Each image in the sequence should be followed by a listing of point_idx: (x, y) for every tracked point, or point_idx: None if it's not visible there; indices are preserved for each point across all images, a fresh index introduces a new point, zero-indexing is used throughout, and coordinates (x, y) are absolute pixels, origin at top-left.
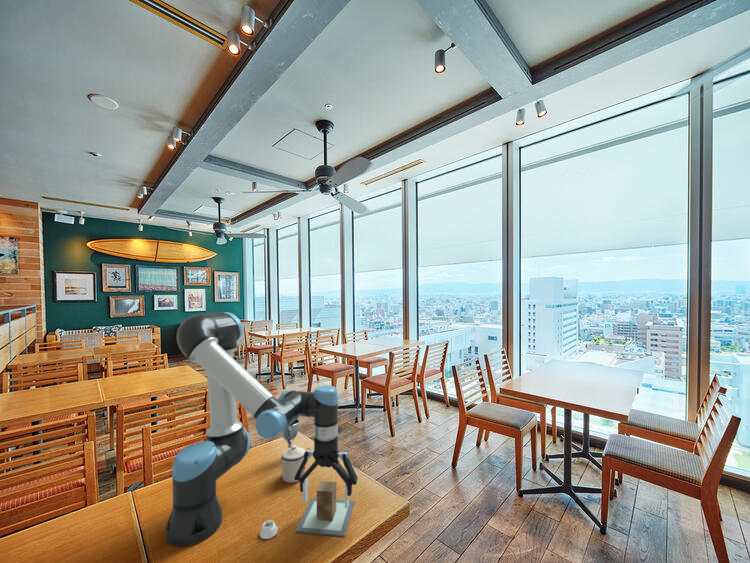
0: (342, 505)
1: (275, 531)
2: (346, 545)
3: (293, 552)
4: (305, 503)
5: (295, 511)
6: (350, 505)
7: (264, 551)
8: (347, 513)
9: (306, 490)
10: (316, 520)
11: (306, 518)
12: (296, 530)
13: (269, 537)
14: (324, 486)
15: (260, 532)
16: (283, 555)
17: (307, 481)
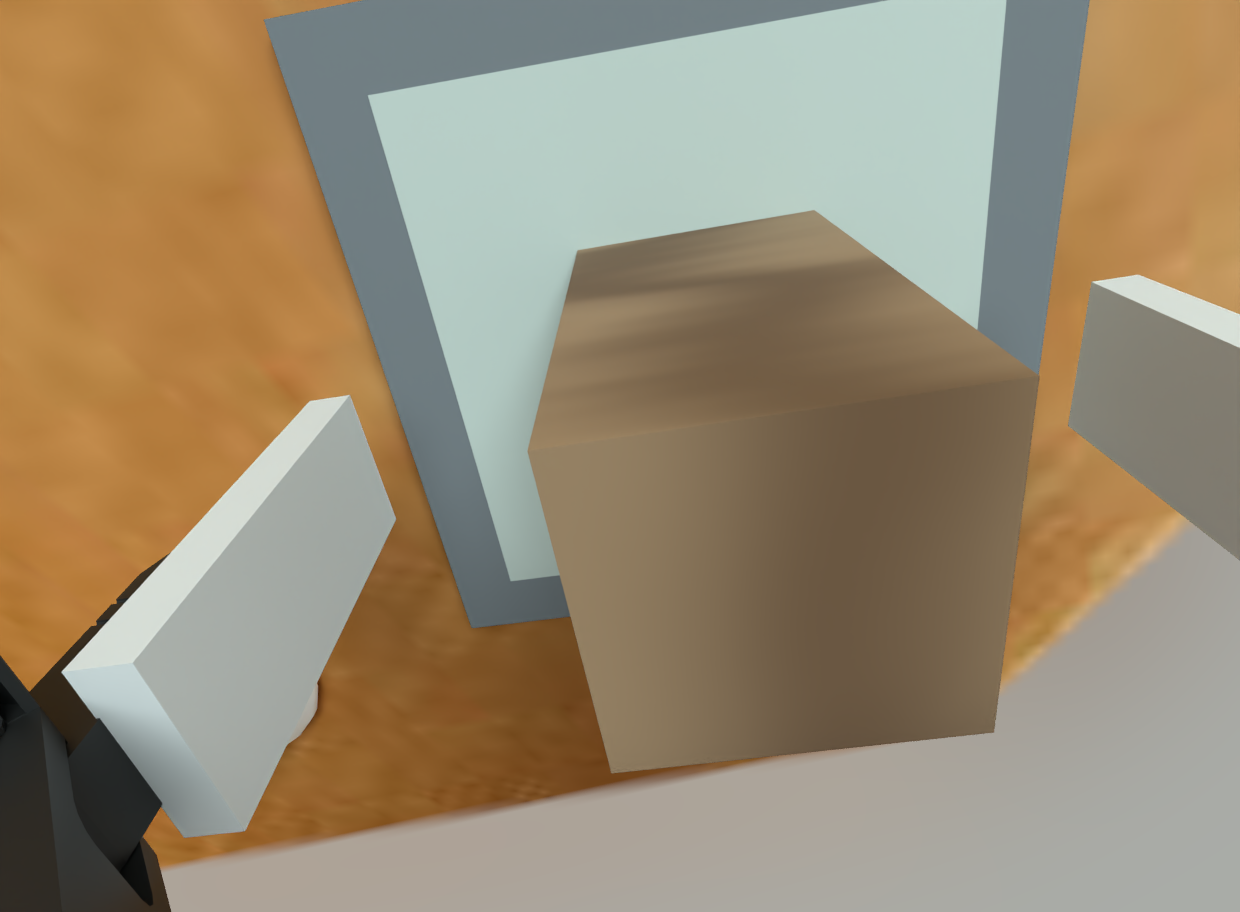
0: (891, 72)
1: None
2: (1037, 630)
3: (590, 767)
4: (389, 506)
5: (246, 362)
6: (1036, 26)
7: (363, 801)
8: (1004, 234)
9: (303, 592)
10: None
11: (477, 461)
12: (478, 622)
13: (297, 736)
14: (738, 631)
15: None
16: (530, 797)
17: (190, 660)
